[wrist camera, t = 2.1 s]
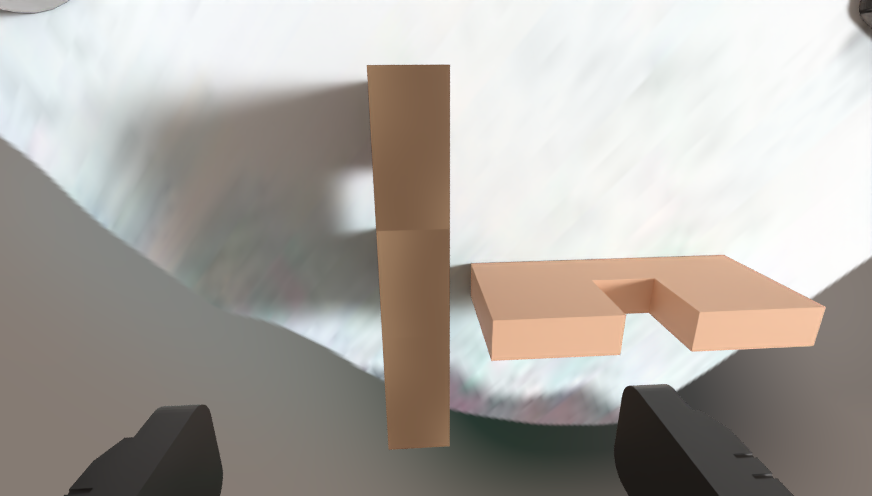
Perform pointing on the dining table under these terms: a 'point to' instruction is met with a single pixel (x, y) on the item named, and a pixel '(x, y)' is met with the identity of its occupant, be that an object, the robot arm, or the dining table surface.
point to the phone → (866, 11)
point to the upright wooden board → (413, 246)
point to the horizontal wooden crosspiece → (634, 305)
